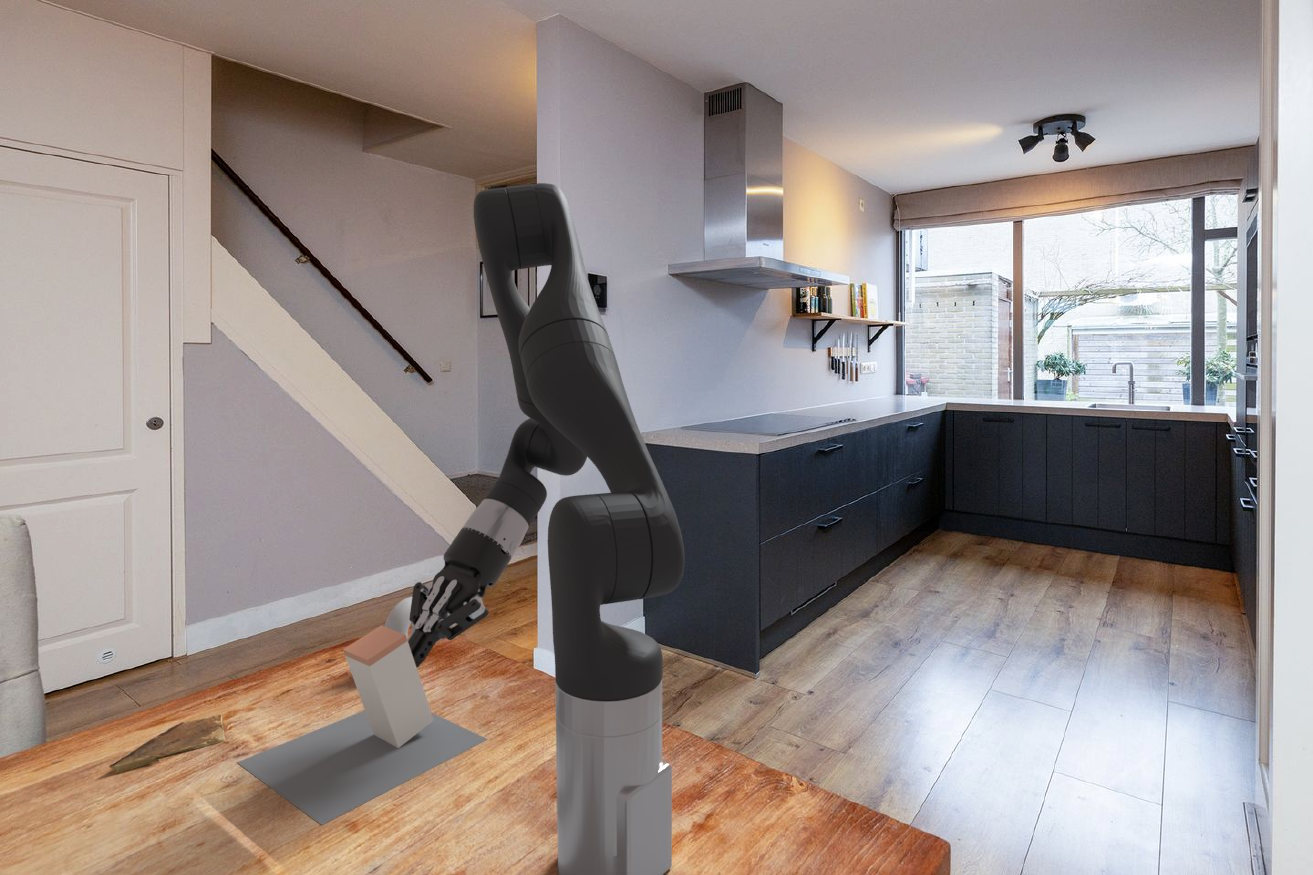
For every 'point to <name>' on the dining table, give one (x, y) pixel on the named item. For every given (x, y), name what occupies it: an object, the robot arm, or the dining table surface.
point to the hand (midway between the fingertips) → (407, 663)
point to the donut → (401, 618)
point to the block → (389, 685)
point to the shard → (174, 742)
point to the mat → (353, 763)
